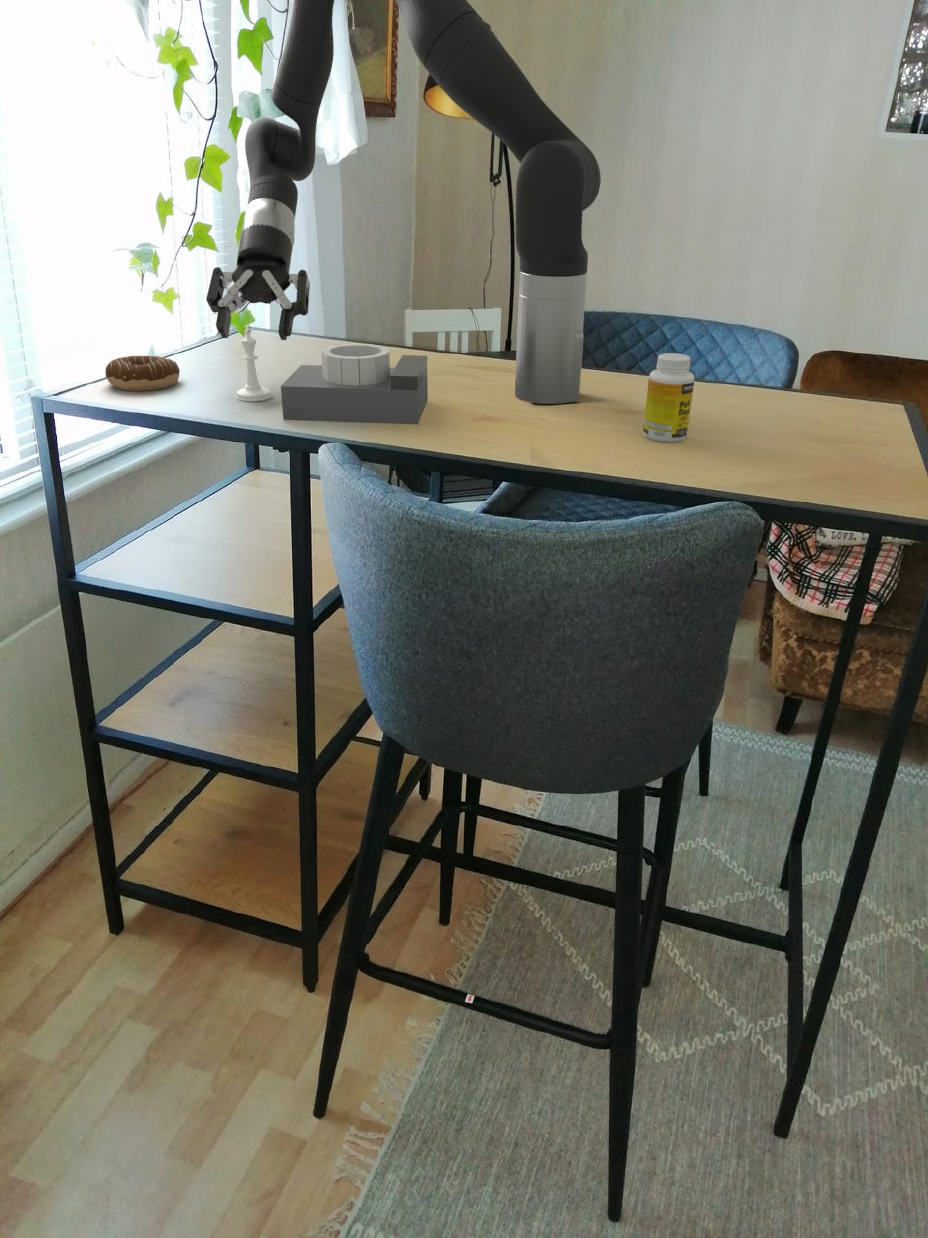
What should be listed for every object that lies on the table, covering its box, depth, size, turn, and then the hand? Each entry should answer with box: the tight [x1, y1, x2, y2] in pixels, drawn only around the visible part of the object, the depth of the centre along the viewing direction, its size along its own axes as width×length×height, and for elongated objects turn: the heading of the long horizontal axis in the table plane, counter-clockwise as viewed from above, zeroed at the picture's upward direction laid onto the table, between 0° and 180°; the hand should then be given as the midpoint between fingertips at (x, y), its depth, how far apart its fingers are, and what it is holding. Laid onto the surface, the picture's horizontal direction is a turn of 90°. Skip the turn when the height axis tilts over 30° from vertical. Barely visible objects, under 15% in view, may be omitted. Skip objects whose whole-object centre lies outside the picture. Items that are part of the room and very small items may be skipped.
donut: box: [105, 355, 180, 392], centre depth 138 cm, size 11×11×4 cm
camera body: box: [280, 343, 429, 425], centre depth 126 cm, size 18×12×8 cm, turn 86°
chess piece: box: [236, 324, 272, 402], centre depth 131 cm, size 5×5×10 cm
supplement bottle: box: [642, 352, 695, 443], centre depth 116 cm, size 6×6×10 cm
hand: (252, 335), depth 132 cm, fingers open, 8 cm apart
